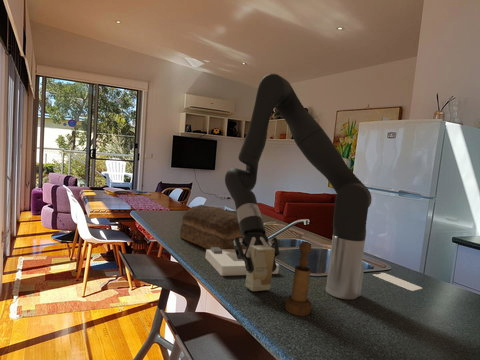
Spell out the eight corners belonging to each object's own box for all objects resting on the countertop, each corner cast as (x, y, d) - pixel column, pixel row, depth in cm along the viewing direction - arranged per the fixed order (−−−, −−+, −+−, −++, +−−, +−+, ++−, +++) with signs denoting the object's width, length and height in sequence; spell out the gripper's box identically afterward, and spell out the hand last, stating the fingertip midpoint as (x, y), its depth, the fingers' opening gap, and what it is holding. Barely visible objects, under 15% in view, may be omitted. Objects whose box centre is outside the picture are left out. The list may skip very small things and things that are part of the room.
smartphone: (425, 289, 121) (383, 273, 134) (425, 288, 121) (383, 272, 134) (412, 293, 117) (369, 275, 130) (412, 291, 117) (370, 274, 130)
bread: (203, 234, 165) (206, 200, 163) (252, 253, 141) (256, 214, 140) (175, 237, 155) (179, 200, 153) (223, 258, 131) (228, 215, 130)
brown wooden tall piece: (310, 318, 90) (318, 247, 88) (284, 313, 91) (292, 243, 90) (310, 307, 96) (318, 241, 95) (286, 302, 97) (293, 237, 96)
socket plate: (255, 256, 137) (257, 246, 137) (278, 273, 121) (279, 262, 120) (205, 257, 130) (206, 246, 129) (221, 275, 113) (222, 263, 113)
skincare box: (251, 292, 101) (256, 249, 100) (244, 286, 105) (248, 245, 104) (271, 290, 104) (275, 248, 103) (263, 284, 108) (267, 244, 107)
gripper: (232, 214, 107) (243, 266, 97) (275, 215, 113) (290, 264, 103) (225, 227, 113) (234, 278, 103) (266, 228, 118) (279, 276, 108)
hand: (262, 271), depth 103 cm, fingers closed on skincare box, 6 cm apart
